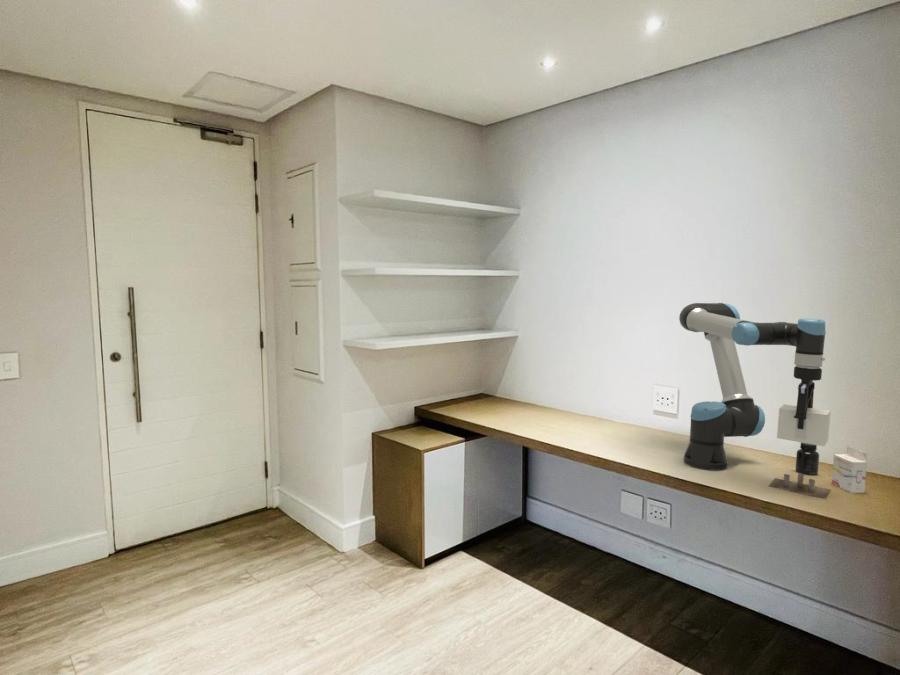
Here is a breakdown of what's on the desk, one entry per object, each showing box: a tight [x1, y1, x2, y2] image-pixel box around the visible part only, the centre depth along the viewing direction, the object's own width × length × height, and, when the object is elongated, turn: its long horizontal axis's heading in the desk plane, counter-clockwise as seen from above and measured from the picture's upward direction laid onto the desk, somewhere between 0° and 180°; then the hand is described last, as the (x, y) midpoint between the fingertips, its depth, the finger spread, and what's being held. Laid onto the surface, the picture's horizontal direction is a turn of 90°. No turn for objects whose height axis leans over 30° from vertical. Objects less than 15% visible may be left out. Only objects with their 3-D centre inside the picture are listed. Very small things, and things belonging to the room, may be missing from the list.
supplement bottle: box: [795, 442, 820, 476], centre depth 196 cm, size 7×7×12 cm
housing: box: [776, 404, 832, 447], centre depth 179 cm, size 13×8×10 cm, turn 49°
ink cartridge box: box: [831, 445, 868, 494], centre depth 181 cm, size 9×5×15 cm, turn 5°
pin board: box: [767, 473, 831, 500], centre depth 181 cm, size 16×11×6 cm
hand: (802, 435), depth 179 cm, fingers closed on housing, 8 cm apart
